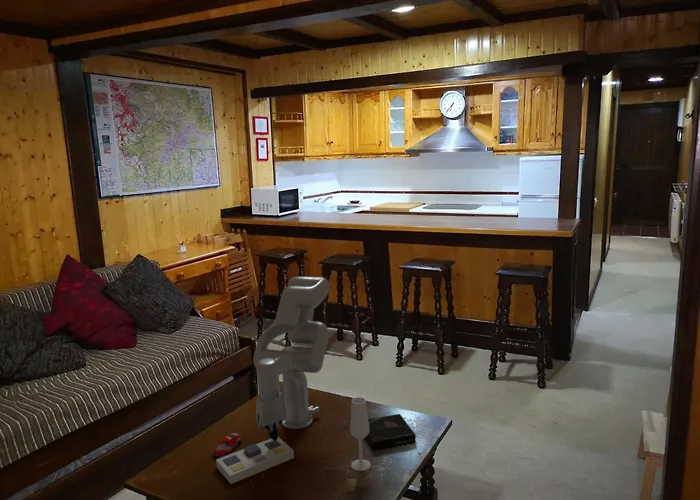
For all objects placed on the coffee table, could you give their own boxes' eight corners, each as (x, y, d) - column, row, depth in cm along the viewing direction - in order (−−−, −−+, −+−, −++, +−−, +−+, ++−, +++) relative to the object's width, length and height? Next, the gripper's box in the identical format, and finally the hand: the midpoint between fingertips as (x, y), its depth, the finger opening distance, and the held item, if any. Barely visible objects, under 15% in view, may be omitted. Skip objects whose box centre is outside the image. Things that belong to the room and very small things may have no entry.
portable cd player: (399, 422, 213) (399, 413, 212) (415, 444, 197) (415, 434, 196) (359, 429, 209) (359, 419, 208) (373, 452, 193) (372, 442, 192)
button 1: (235, 463, 188) (234, 455, 188) (240, 468, 185) (240, 460, 184) (223, 467, 186) (222, 459, 185) (228, 473, 182) (228, 465, 182)
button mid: (255, 451, 193) (255, 443, 192) (261, 456, 189) (260, 449, 189) (244, 455, 190) (243, 448, 190) (250, 461, 187) (249, 453, 186)
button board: (277, 443, 200) (277, 435, 199) (293, 457, 190) (293, 449, 190) (216, 467, 186) (216, 459, 186) (230, 484, 177) (230, 475, 176)
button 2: (275, 447, 198) (275, 439, 197) (281, 452, 194) (281, 444, 193) (265, 451, 195) (264, 443, 194) (270, 456, 192) (270, 449, 191)
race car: (222, 460, 191) (221, 450, 190) (210, 457, 194) (209, 447, 193) (244, 441, 203) (244, 431, 202) (233, 438, 205) (232, 429, 204)
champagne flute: (357, 472, 180) (354, 407, 176) (347, 462, 186) (345, 398, 182) (374, 466, 183) (372, 401, 179) (364, 457, 189) (362, 394, 185)
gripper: (282, 382, 198) (286, 426, 202) (245, 395, 189) (250, 441, 194) (293, 389, 192) (296, 435, 196) (255, 403, 183) (260, 451, 188)
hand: (273, 438), depth 195 cm, fingers closed
